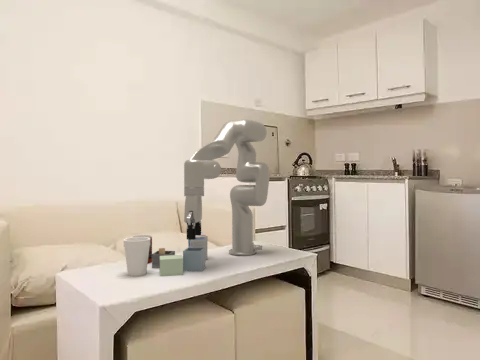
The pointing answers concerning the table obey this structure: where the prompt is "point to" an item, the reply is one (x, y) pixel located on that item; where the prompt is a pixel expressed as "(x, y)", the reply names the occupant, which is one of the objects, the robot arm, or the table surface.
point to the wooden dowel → (161, 250)
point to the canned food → (149, 248)
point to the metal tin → (157, 257)
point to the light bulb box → (199, 243)
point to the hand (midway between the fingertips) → (194, 237)
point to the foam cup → (137, 255)
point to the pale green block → (171, 265)
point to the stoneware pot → (193, 259)
